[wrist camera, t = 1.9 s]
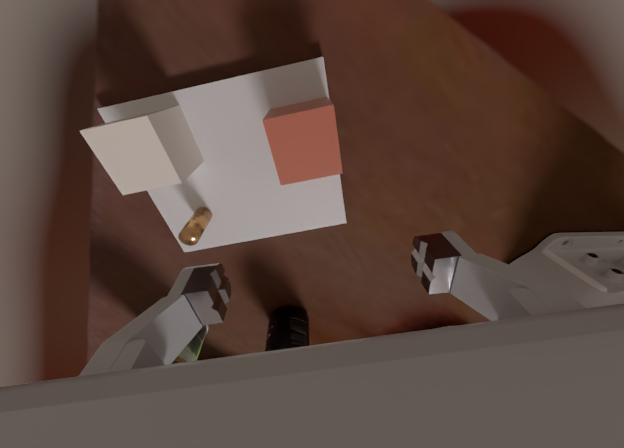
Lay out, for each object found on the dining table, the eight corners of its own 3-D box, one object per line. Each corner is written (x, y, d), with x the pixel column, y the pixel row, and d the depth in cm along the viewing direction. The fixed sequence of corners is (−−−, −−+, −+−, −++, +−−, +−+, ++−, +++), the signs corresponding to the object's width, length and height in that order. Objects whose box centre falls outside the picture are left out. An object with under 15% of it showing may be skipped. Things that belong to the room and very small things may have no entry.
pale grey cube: (179, 105, 24) (147, 115, 19) (204, 161, 27) (181, 183, 22) (125, 117, 24) (79, 130, 19) (155, 171, 27) (122, 195, 22)
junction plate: (322, 56, 23) (323, 56, 22) (345, 218, 33) (346, 223, 32) (104, 107, 24) (97, 108, 24) (187, 247, 34) (184, 252, 33)
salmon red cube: (326, 96, 24) (333, 104, 19) (334, 153, 27) (342, 173, 22) (270, 108, 24) (262, 119, 19) (284, 163, 27) (280, 185, 22)
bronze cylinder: (208, 205, 30) (193, 228, 25) (215, 219, 31) (201, 243, 26) (192, 208, 30) (174, 232, 26) (199, 222, 31) (183, 247, 27)
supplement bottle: (262, 310, 42) (250, 388, 32) (299, 300, 41) (299, 377, 31) (279, 333, 45) (273, 409, 35) (314, 323, 44) (318, 400, 34)
